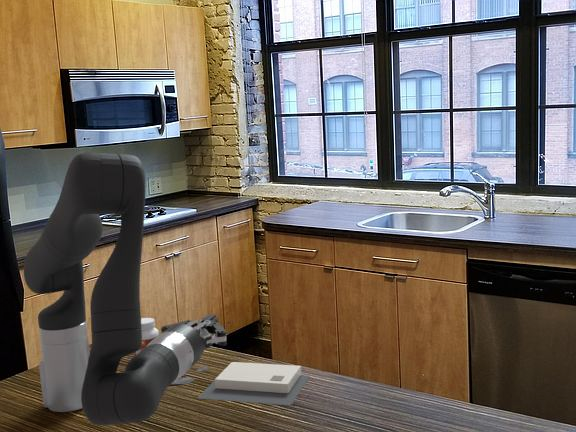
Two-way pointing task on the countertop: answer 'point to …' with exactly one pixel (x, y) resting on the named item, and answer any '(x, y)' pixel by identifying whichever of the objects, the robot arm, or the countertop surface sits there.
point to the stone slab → (189, 379)
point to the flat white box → (258, 377)
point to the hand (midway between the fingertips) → (212, 319)
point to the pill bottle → (147, 332)
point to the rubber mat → (254, 394)
